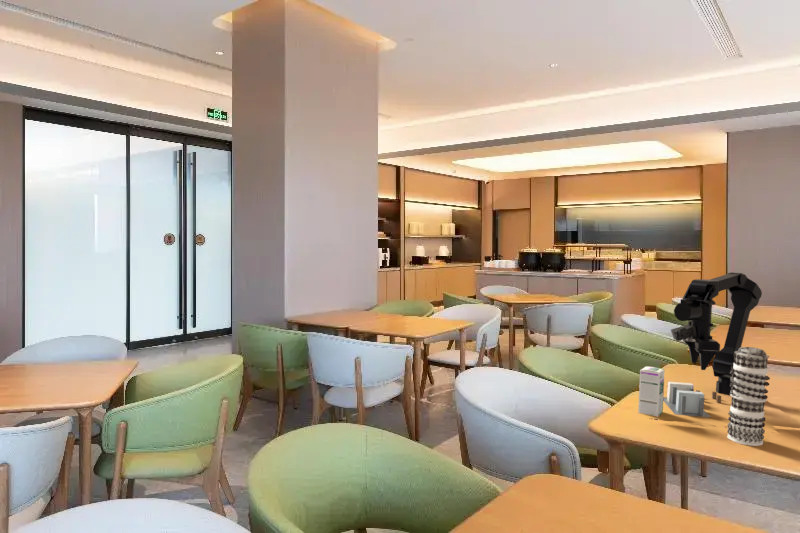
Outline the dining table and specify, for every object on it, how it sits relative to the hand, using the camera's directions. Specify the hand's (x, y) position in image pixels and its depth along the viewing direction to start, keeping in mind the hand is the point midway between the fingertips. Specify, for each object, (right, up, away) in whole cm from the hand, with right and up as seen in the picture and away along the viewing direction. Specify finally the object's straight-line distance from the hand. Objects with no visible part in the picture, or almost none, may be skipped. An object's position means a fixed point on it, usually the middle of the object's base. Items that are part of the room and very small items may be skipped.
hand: (698, 366), depth 185 cm
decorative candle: (-4, -15, -31) cm, 34 cm away
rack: (-8, -13, -7) cm, 16 cm away
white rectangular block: (-7, -11, -2) cm, 13 cm away
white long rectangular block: (-9, -12, -11) cm, 19 cm away
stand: (+4, -12, +1) cm, 13 cm away
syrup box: (-21, -13, -13) cm, 28 cm away
